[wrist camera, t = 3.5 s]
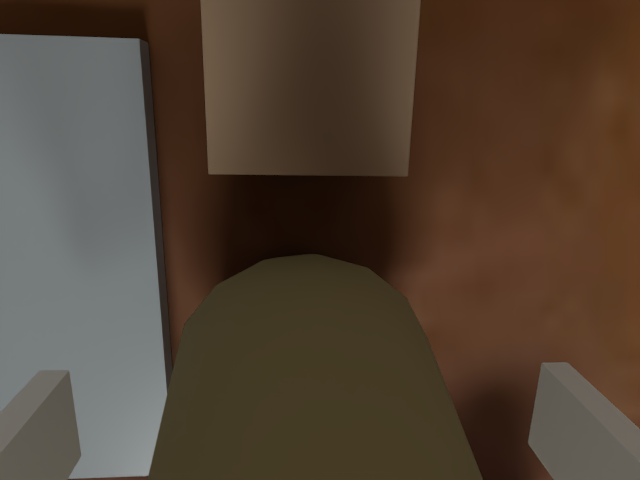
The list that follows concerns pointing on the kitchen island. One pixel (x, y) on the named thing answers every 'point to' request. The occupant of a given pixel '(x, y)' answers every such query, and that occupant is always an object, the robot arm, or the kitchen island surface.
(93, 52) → the light grey rectangular plate
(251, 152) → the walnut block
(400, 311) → the squeeze bottle
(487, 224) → the kitchen island surface
